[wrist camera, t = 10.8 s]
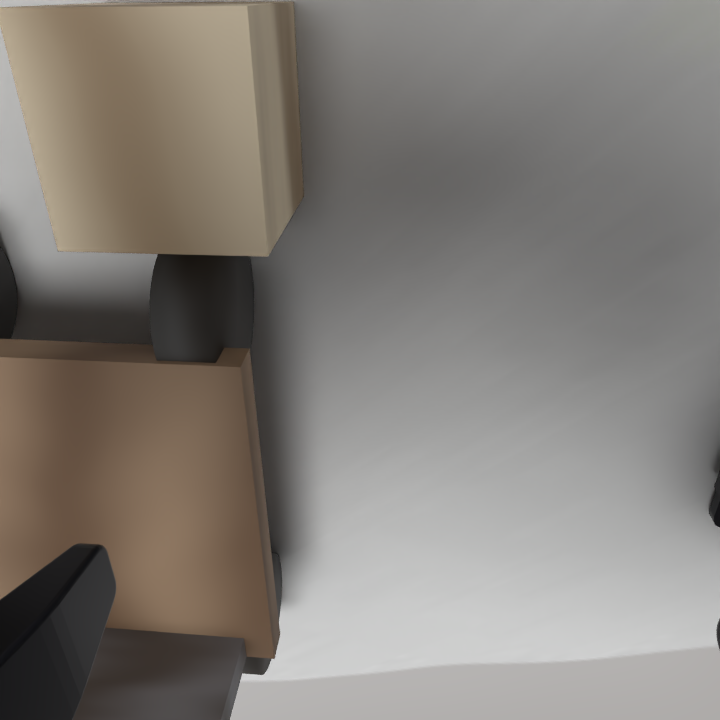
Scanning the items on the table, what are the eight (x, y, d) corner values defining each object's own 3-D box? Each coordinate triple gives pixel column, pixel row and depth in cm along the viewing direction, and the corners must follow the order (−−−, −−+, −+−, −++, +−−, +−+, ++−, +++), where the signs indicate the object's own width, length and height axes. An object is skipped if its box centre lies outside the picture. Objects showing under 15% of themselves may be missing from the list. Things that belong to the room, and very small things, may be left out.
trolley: (269, 212, 19) (170, 352, 12) (300, 604, 28) (254, 824, 21) (-77, 204, 20) (-368, 330, 13) (58, 587, 29) (-68, 791, 21)
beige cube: (294, 1, 16) (247, 5, 12) (304, 195, 19) (268, 256, 15) (106, 2, 17) (-5, 8, 13) (140, 192, 19) (58, 251, 15)
